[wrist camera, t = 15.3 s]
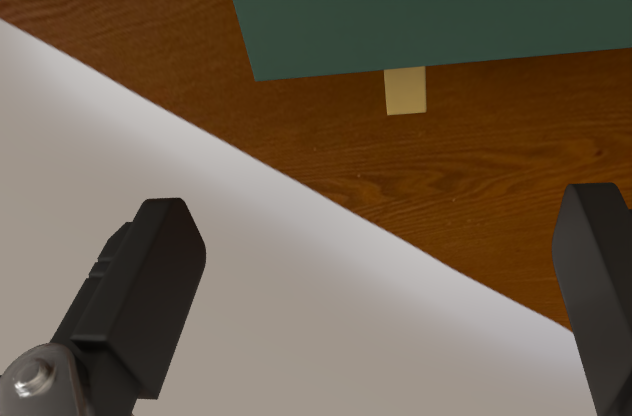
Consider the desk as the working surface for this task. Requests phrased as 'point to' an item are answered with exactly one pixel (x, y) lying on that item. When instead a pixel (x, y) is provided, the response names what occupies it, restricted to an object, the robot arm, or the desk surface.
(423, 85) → the window
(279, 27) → the window frame
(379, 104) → the desk surface
